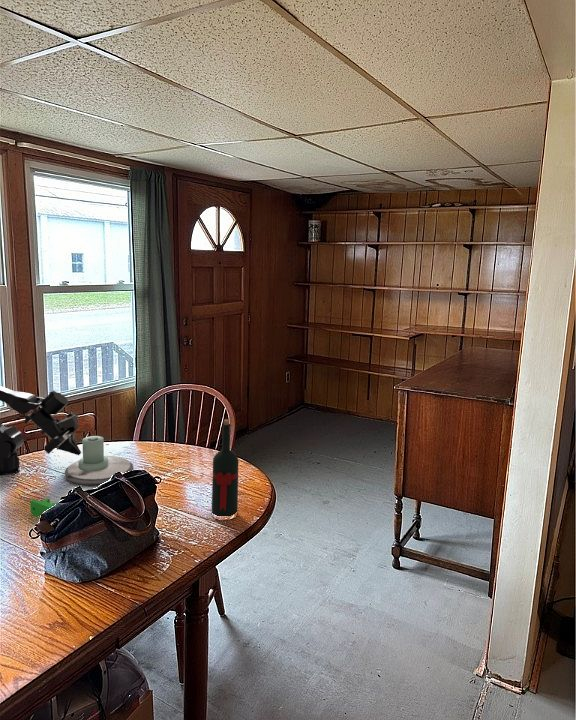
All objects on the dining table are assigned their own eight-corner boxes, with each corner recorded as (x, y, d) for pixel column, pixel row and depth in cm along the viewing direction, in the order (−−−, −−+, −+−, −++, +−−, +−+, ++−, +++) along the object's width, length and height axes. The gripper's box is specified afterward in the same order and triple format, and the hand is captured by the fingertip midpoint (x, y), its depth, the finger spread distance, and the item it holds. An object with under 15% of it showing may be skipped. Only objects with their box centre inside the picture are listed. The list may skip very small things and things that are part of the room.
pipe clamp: (67, 519, 150) (67, 504, 149) (56, 524, 147) (56, 509, 146) (41, 509, 155) (41, 495, 154) (30, 514, 151) (30, 500, 151)
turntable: (76, 491, 167) (76, 484, 167) (56, 469, 185) (56, 462, 184) (143, 476, 182) (143, 469, 181) (119, 456, 199) (119, 450, 199)
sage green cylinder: (84, 473, 176) (83, 445, 174) (74, 464, 184) (73, 437, 182) (112, 467, 183) (112, 440, 181) (102, 458, 190) (101, 432, 188)
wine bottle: (208, 524, 150) (210, 426, 145) (213, 508, 160) (214, 415, 155) (235, 525, 150) (238, 427, 145) (238, 509, 160) (240, 416, 155)
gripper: (52, 415, 169) (87, 448, 172) (73, 401, 188) (104, 431, 190) (29, 437, 170) (64, 469, 173) (51, 421, 189) (82, 450, 191)
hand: (80, 454), depth 182 cm, fingers closed
